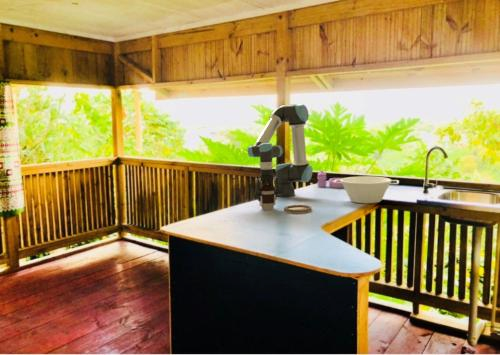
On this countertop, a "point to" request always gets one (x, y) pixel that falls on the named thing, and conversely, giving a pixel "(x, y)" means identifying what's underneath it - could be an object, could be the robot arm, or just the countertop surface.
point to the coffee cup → (267, 197)
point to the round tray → (297, 209)
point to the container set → (323, 183)
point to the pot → (366, 188)
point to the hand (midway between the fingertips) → (267, 205)
